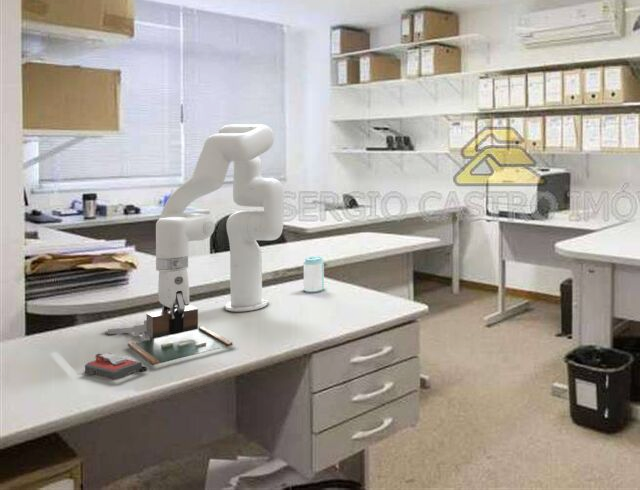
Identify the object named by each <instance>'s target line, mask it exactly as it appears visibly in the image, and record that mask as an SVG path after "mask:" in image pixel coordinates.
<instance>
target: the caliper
mask: <svg viewBox="0 0 640 490" xmlns="http://www.w3.org/2000/svg"><path fill="white" fill-rule="evenodd" d="M104 333H106V334H108V335H119V334H133V333H134V334H133V335H134V336H142V338H143V340H147V339H148V340H153V338H151V337H150V336H148V335H147V319H146V320H143V323H141V324H140V323H139V324H135V325H133V326H124V327H111V328H108V329H107V330H105V332H104Z"/></svg>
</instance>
